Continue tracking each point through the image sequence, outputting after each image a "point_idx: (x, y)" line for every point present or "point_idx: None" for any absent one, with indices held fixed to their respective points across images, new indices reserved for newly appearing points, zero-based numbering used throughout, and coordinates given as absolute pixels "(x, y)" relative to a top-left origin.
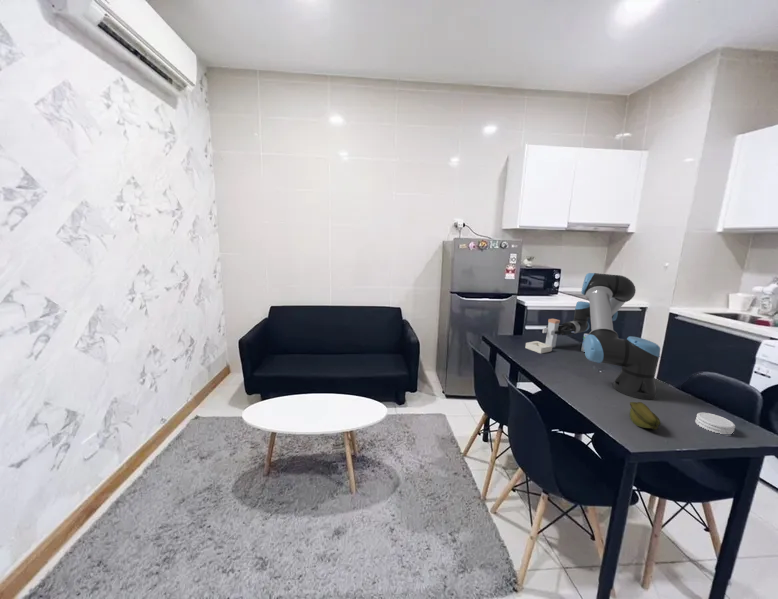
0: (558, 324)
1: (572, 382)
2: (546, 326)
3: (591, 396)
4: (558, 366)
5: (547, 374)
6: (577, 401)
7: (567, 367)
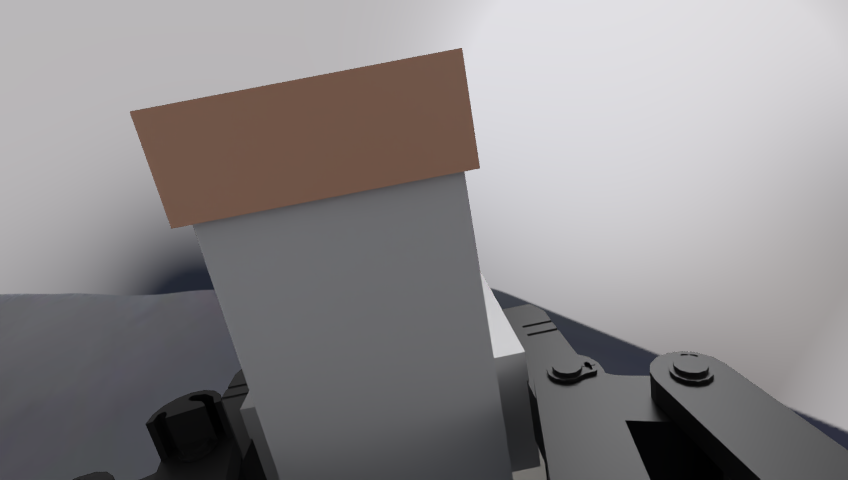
0: (220, 268)
1: (79, 349)
2: (687, 361)
3: (13, 342)
4: (164, 395)
5: (194, 317)
6: (73, 305)
7: (101, 432)
